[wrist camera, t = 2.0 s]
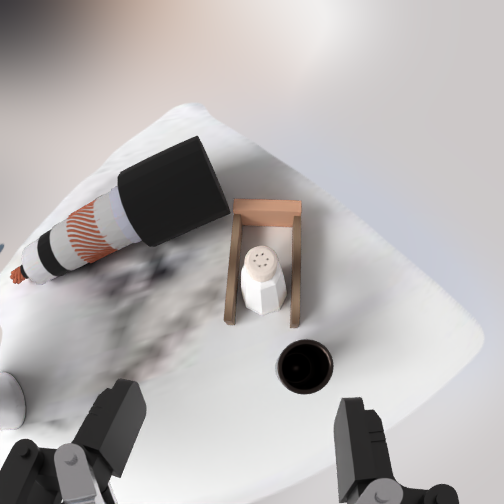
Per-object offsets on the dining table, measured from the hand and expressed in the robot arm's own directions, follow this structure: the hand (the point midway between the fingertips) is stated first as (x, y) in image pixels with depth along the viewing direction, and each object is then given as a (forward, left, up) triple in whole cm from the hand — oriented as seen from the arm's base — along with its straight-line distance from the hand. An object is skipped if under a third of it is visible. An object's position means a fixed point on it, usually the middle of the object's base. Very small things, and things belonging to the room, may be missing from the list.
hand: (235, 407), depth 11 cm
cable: (-11, +25, -23) cm, 36 cm away
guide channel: (+7, +12, -23) cm, 27 cm away
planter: (+4, 0, -23) cm, 24 cm away
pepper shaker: (+5, +9, -23) cm, 25 cm away
